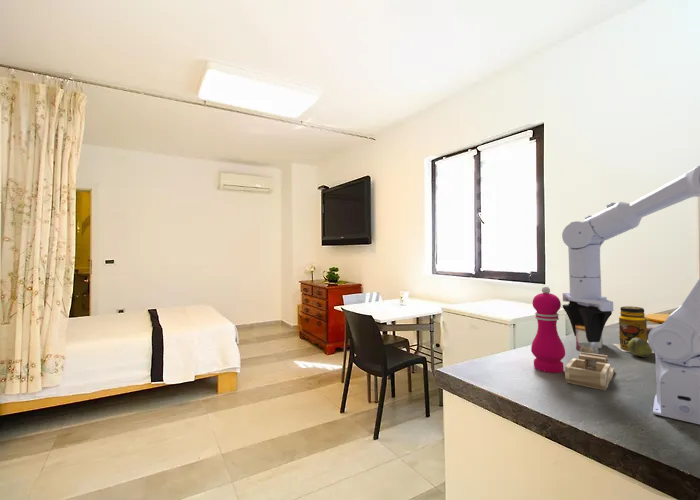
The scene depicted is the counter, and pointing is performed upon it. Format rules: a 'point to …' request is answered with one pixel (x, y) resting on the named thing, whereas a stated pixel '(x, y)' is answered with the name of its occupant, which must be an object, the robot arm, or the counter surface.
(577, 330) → the small glass jar
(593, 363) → the lock pin
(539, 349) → the pepper mill
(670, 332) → the robot arm
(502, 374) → the counter surface
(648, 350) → the lime
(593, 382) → the mount
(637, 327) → the condiment
